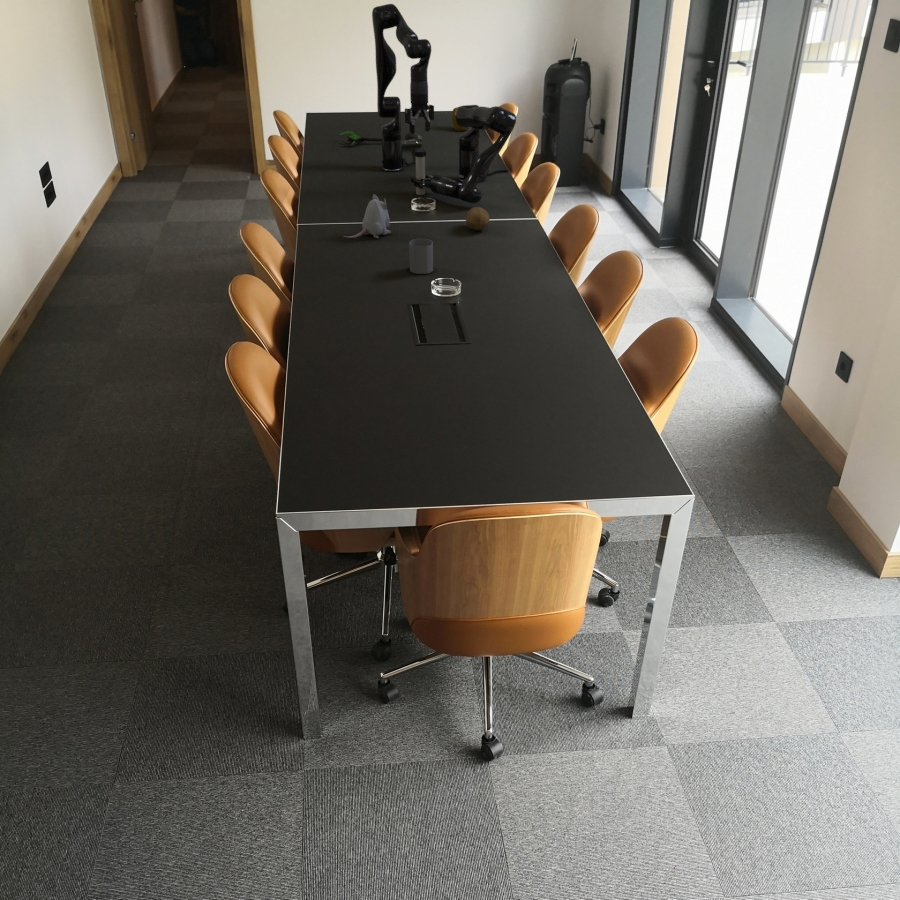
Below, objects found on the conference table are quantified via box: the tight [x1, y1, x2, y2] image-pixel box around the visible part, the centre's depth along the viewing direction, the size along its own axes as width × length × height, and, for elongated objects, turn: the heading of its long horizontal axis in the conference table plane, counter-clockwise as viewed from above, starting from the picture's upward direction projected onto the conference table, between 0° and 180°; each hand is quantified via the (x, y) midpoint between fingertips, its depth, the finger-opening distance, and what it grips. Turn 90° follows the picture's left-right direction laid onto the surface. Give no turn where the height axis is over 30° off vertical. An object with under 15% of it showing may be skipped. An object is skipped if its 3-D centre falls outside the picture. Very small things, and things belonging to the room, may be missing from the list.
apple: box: [451, 106, 469, 132], centre depth 487 cm, size 11×11×13 cm
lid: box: [413, 149, 427, 157], centre depth 378 cm, size 5×5×2 cm
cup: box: [408, 237, 434, 275], centre depth 305 cm, size 8×8×10 cm
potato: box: [465, 206, 491, 231], centre depth 344 cm, size 10×14×8 cm
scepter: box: [337, 130, 382, 148], centre depth 462 cm, size 6×13×30 cm
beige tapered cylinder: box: [414, 155, 427, 196], centre depth 382 cm, size 4×4×18 cm
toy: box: [343, 193, 392, 239], centre depth 332 cm, size 9×24×15 cm, turn 137°
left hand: (419, 132), depth 373 cm, fingers open, 7 cm apart
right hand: (417, 178), depth 385 cm, fingers open, 6 cm apart
